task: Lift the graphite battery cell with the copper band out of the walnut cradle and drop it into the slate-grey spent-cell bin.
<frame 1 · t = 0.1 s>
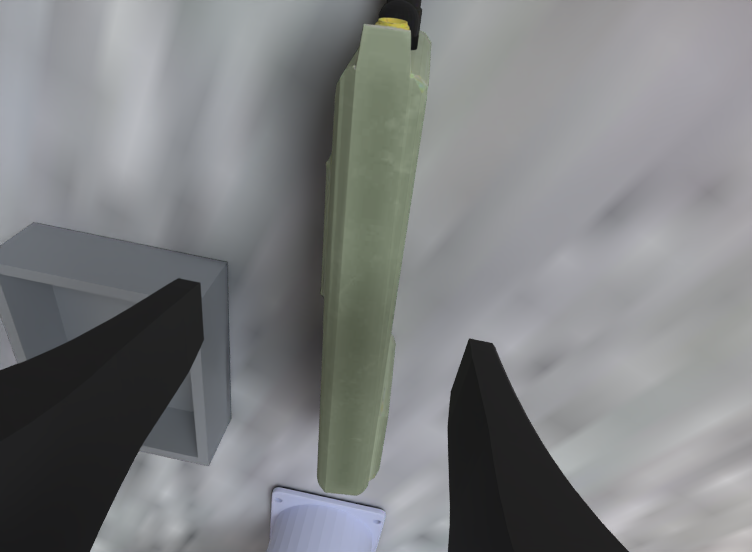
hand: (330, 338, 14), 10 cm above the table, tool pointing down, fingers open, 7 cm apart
handheld radio: (384, 195, 23), on the table
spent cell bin: (143, 331, 29), on the table
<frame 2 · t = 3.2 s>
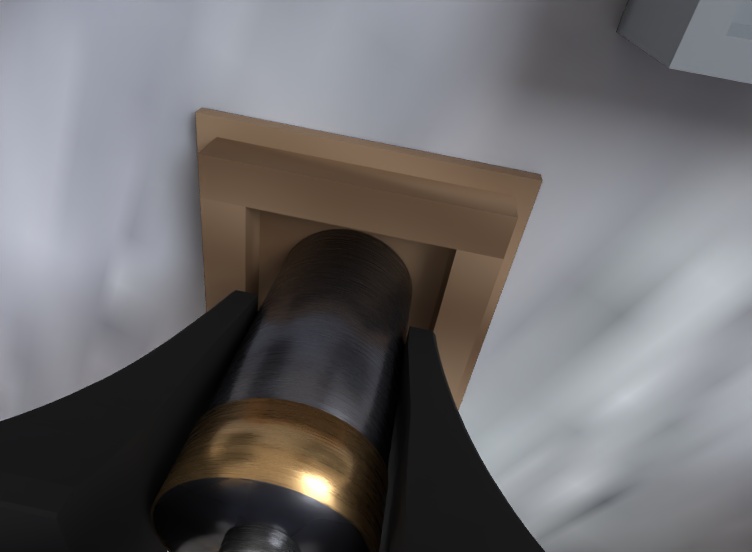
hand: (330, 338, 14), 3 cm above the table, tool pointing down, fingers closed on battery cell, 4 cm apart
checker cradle: (349, 279, 16), on the table
battery cell: (346, 286, 16), resting on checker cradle, touching gripper
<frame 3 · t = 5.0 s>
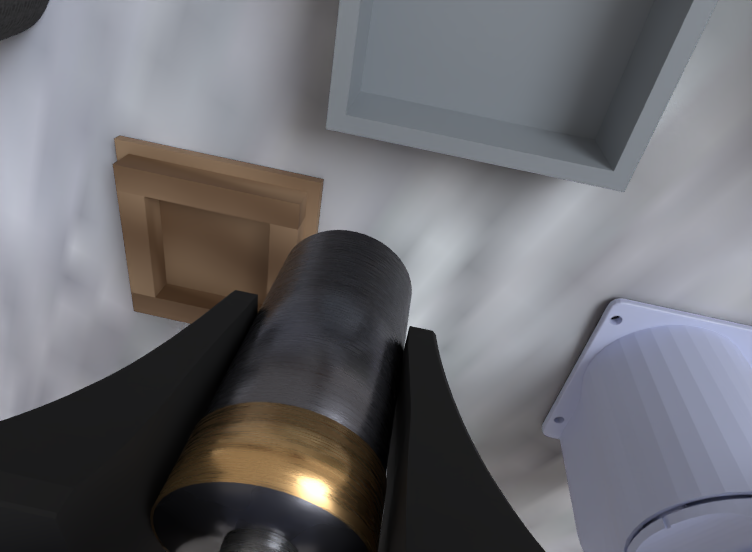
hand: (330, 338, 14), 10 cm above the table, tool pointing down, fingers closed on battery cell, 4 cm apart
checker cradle: (222, 245, 25), on the table
battery cell: (346, 287, 16), point 7 cm above the table, touching gripper
when the fingers open (5 cm above the table, at t = 6.9 s): battery cell drops 2 cm, resting on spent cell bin.
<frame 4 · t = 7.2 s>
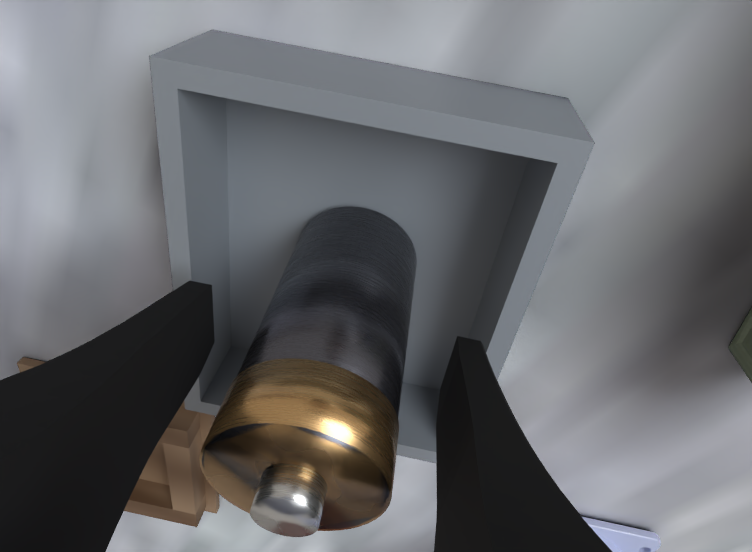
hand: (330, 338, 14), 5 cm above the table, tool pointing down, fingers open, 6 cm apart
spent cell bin: (360, 246, 18), on the table
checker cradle: (130, 438, 26), on the table
battery cell: (356, 259, 17), point 1 cm above the table, touching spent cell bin
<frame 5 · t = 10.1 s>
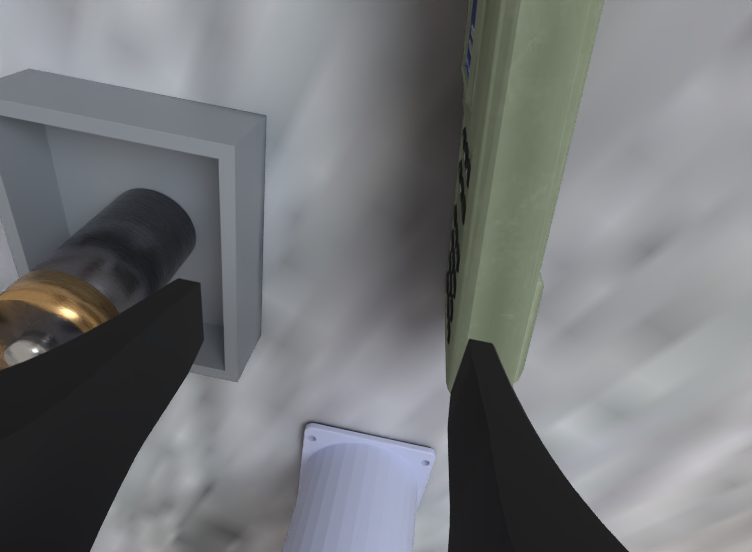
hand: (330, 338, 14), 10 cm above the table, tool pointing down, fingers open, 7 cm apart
handheld radio: (516, 8, 18), on the table
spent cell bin: (160, 219, 24), on the table
battery cell: (154, 227, 24), point 1 cm above the table, touching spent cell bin
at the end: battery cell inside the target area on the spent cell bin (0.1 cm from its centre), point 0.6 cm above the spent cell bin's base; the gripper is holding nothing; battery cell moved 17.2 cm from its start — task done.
